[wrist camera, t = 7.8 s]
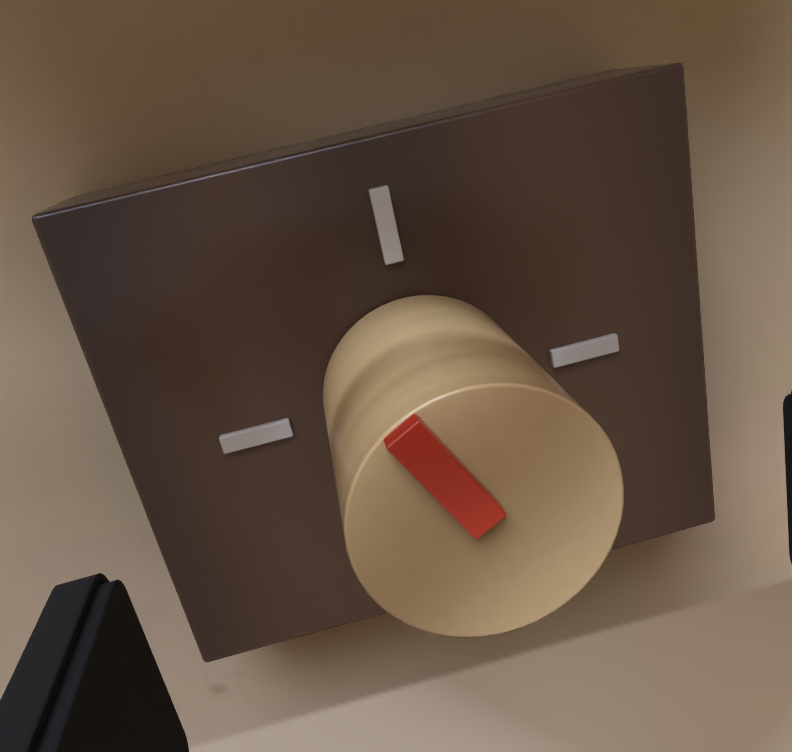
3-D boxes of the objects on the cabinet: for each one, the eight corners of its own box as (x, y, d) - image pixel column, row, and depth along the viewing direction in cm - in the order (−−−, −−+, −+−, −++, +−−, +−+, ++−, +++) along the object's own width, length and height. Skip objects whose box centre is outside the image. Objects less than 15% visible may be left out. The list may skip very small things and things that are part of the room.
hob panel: (214, 584, 19) (203, 670, 16) (72, 196, 16) (25, 217, 13) (655, 464, 20) (720, 525, 17) (615, 68, 17) (689, 60, 14)
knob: (556, 395, 16) (687, 529, 11) (410, 516, 16) (470, 699, 11) (436, 251, 14) (523, 328, 9) (279, 388, 15) (281, 530, 10)
